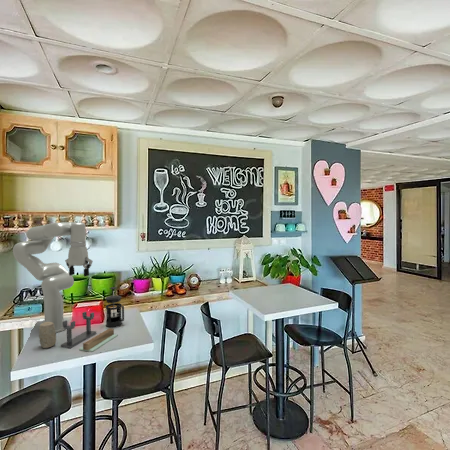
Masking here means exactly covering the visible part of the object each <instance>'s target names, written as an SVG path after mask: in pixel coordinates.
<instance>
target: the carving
mask: <svg viewBox="0 0 450 450" xmlns="http://www.w3.org/2000/svg"><path fill="white" fill-rule="evenodd" d="M38 330H39V331H38V339H39V343H40V347H41V348H42V349H47V348H51V347H53V346H55V345H56V343H57V334H56V333H55V327H54V323H53V322H45V323H43V324H41V323H40V325H39V329H38Z"/></svg>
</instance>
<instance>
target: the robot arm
mask: <svg viewBox="0 0 450 450" xmlns="http://www.w3.org/2000/svg"><path fill="white" fill-rule="evenodd" d="M86 231H87V230H86V223H84V222H74V221H69V222H67V221H66V222H65V221H64V222H63V221H62V222H51V223H46V224H44V225H37V226H32V227H31V228H29V229H28V230H27V231H26V237H27V239H28V240H25V241H20V242H18V243H15V244H14V245H13V247H12V254H13V257H14V259H15V260H16V262H18V263H19V264H20V265H21V266H23V267H24V268H25V269H26V270H27V271H28V272H29V273H30V275H31V276H33V278H35V280H38V281H41V289H42V294H43V311H44V320H43V321H42V322H41V323H40V325H41V324H43V323H45V322H53V323H54V327H55V333H60V332H62V331H65V330H66V329H63V321H64V299H63V298H64V297H63V296H62V295H61V293H60V291H63V290H68V289H70V288H72V287H73V285H74V284H75V280H74V279H75V278H74V277H73V276H74V275H75V267H76V266H77V267H78V266H79V267H80V266H83V277H87V276H89V275H90V269H91V267H92V265H93V260H92V259H90V258H89V251H88V248H87V246H86V245H87V240H86V238H87V237H86ZM63 236H65V237H68V236H69V237H70V243H69V245H70V247H69V248H68V257H67V258H66V259H65V260H64V261H65V264H66V266H67V269H68V270H67V269H66V268H65V267H64V266H63V265H62V264H60V263H58V262H49V263H45V262H43V261H42V260H41V259H40V258H39V257H37V256H34V255H38V254H39V255H40V254H43V253H44V252H46V250H47V249H48V248H49V246H50V244H51V243H52V241H53V240H54V238H55V237H63Z"/></svg>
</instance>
